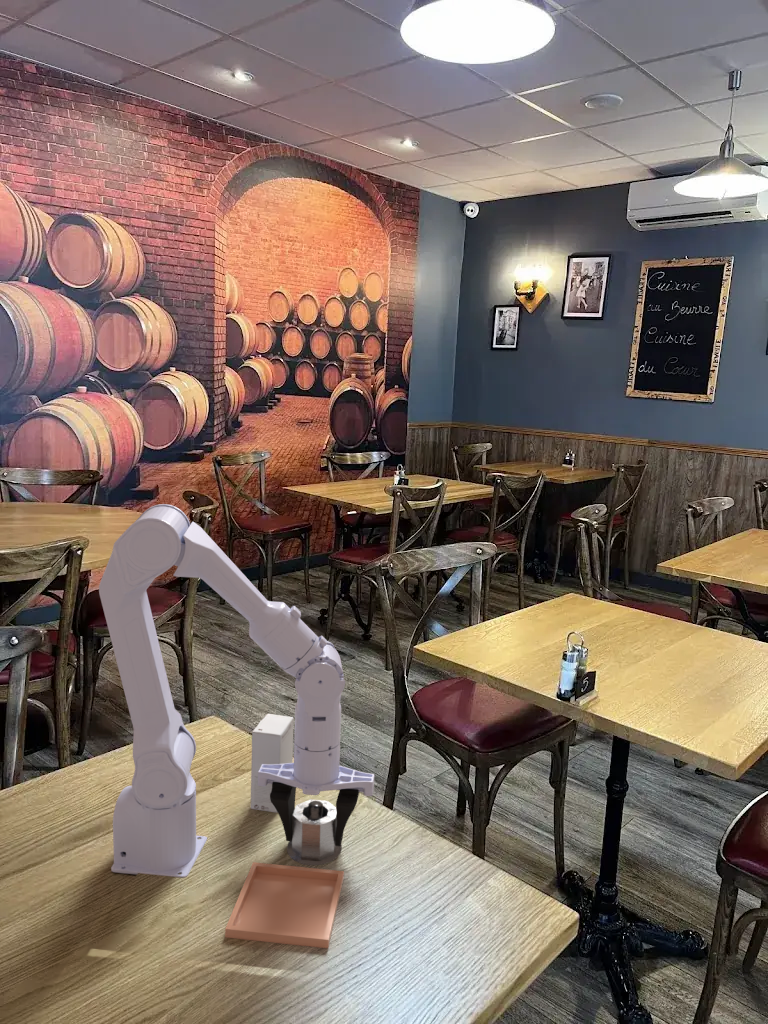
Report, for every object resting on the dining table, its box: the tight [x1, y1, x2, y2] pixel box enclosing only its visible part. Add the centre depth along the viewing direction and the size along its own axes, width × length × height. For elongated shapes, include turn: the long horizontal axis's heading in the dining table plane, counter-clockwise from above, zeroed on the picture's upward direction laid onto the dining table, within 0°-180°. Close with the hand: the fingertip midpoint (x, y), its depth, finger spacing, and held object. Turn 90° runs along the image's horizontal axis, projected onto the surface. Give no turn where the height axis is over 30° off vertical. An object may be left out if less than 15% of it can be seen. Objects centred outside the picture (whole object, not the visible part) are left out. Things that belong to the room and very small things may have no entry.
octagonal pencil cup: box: [292, 799, 337, 862], centre depth 95 cm, size 5×5×5 cm
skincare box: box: [250, 713, 295, 814], centre depth 105 cm, size 6×4×12 cm
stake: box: [286, 801, 343, 866], centre depth 95 cm, size 7×7×6 cm
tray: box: [224, 861, 345, 950], centre depth 85 cm, size 11×11×2 cm
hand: (314, 838), depth 96 cm, fingers open, 6 cm apart
